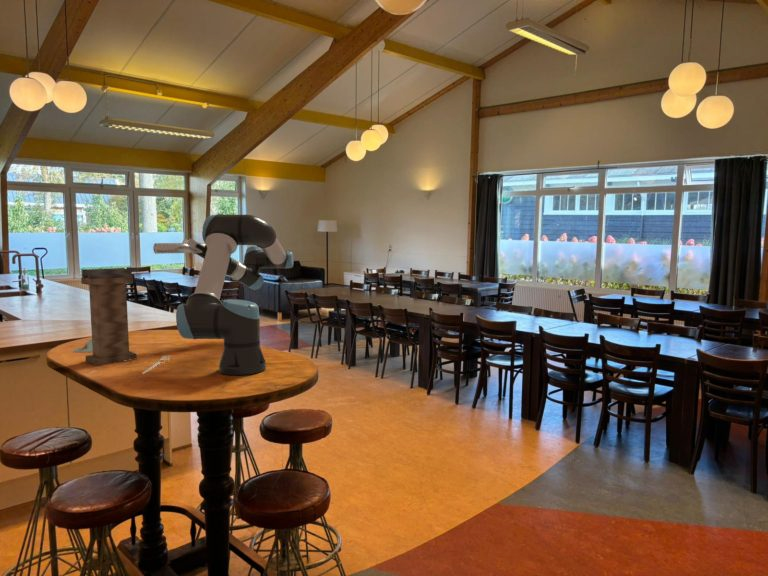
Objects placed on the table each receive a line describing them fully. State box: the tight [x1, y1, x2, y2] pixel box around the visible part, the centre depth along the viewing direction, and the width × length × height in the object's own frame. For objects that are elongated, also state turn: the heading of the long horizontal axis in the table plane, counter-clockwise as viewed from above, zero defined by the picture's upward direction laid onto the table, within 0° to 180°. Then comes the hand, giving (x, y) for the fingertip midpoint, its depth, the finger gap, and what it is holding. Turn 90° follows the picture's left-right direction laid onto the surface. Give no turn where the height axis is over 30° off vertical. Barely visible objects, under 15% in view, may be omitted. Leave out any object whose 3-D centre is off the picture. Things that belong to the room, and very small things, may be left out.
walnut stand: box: [80, 267, 138, 367], centre depth 190 cm, size 14×10×33 cm
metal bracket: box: [72, 338, 93, 353], centre depth 211 cm, size 14×6×15 cm
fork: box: [141, 355, 171, 375], centre depth 182 cm, size 3×20×2 cm, turn 0°
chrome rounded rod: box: [152, 242, 206, 255], centre depth 212 cm, size 20×4×4 cm, turn 136°
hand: (186, 241), depth 213 cm, fingers closed on chrome rounded rod, 4 cm apart
